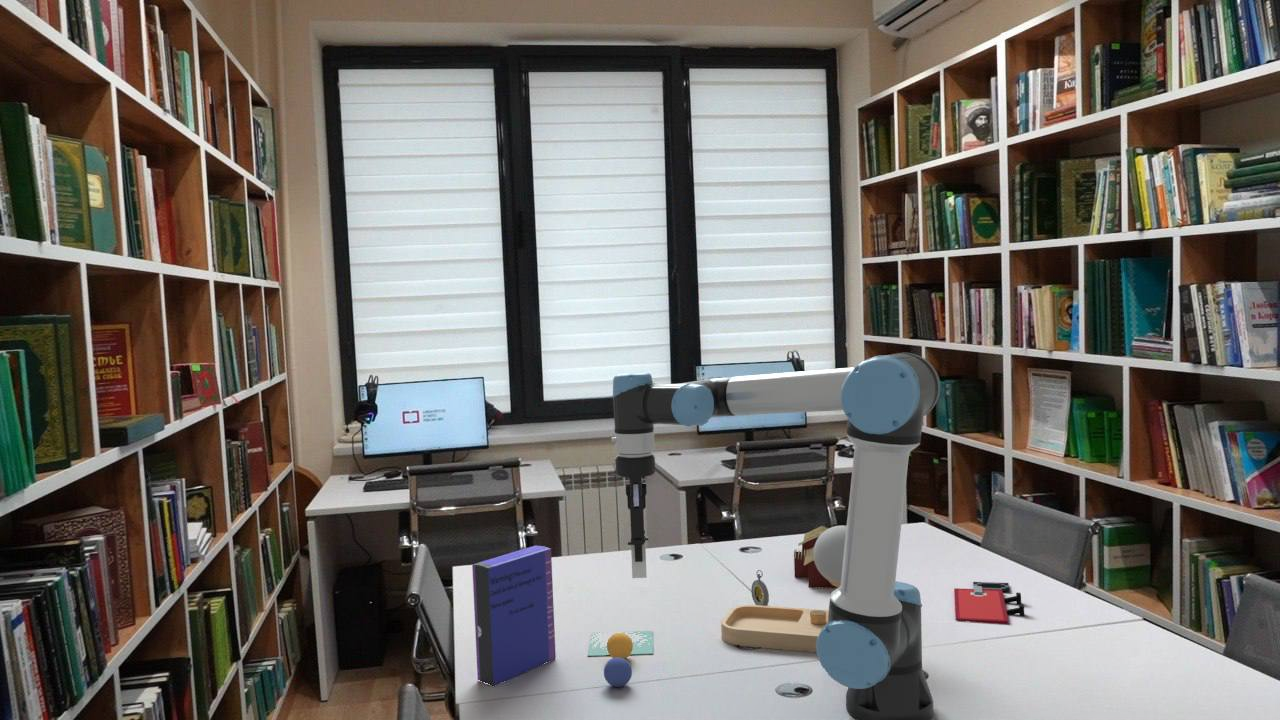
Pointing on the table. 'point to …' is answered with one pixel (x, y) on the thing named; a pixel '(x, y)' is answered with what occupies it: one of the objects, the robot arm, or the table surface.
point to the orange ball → (619, 645)
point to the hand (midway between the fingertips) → (639, 576)
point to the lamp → (785, 623)
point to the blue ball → (617, 672)
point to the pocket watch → (760, 592)
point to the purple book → (513, 614)
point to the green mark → (636, 649)
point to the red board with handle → (985, 603)
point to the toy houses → (810, 561)
